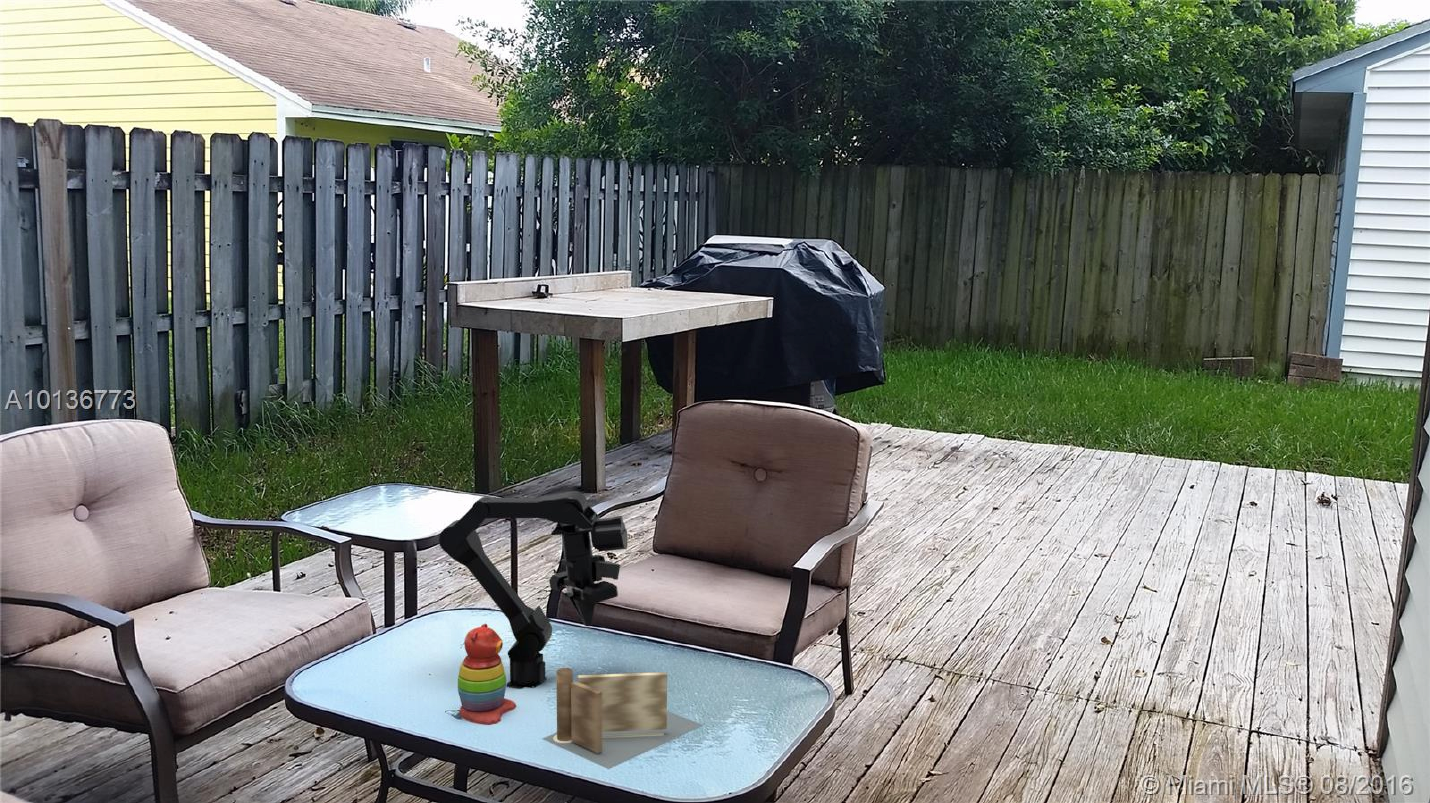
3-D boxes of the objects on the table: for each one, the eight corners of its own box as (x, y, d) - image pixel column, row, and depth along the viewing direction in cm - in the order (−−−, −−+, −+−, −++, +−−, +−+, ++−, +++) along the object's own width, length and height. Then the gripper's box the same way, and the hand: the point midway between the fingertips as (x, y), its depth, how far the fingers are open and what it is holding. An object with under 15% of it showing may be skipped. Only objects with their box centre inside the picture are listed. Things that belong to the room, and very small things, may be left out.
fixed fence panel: (553, 738, 218) (553, 670, 216) (565, 733, 220) (565, 666, 218) (593, 756, 211) (593, 686, 209) (605, 750, 213) (605, 682, 211)
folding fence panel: (578, 732, 218) (578, 677, 216) (578, 730, 219) (578, 675, 217) (666, 729, 220) (667, 674, 218) (666, 726, 221) (666, 672, 219)
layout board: (542, 741, 218) (542, 737, 218) (637, 701, 236) (637, 698, 236) (608, 771, 206) (608, 768, 206) (703, 727, 225) (703, 724, 225)
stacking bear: (494, 729, 223) (493, 639, 220) (447, 721, 226) (445, 633, 223) (520, 707, 233) (518, 621, 231) (474, 700, 236) (472, 616, 234)
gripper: (635, 550, 237) (644, 623, 239) (589, 537, 252) (598, 606, 254) (587, 564, 231) (598, 639, 233) (543, 550, 246) (553, 621, 248)
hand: (588, 625), depth 242 cm, fingers closed
